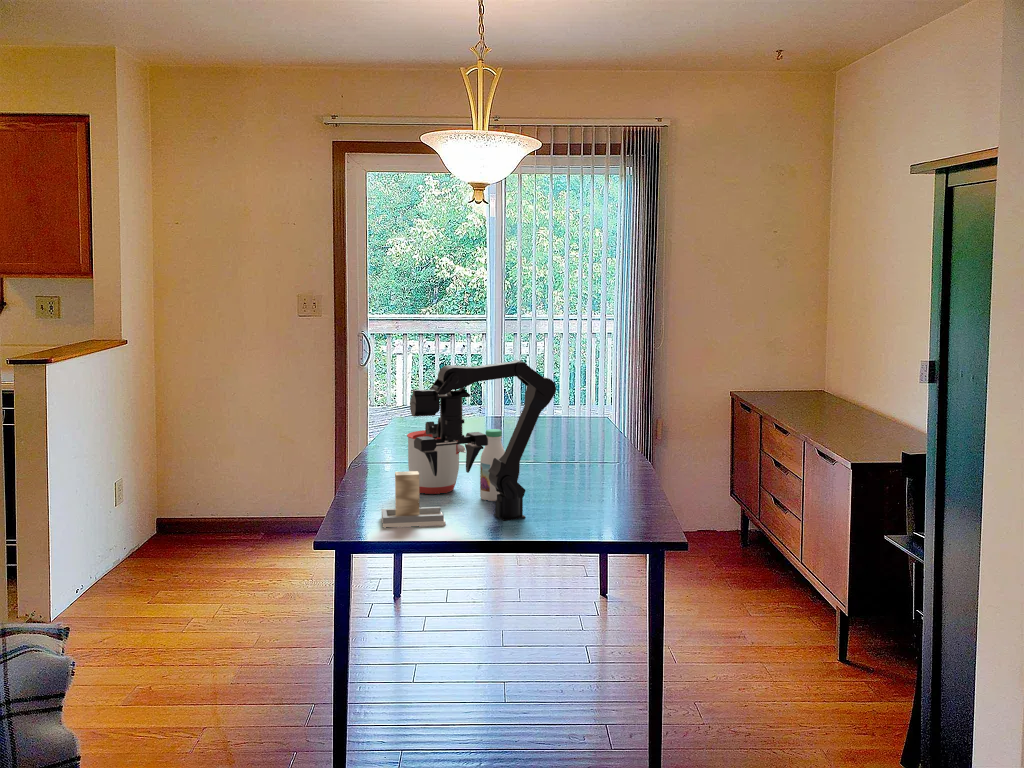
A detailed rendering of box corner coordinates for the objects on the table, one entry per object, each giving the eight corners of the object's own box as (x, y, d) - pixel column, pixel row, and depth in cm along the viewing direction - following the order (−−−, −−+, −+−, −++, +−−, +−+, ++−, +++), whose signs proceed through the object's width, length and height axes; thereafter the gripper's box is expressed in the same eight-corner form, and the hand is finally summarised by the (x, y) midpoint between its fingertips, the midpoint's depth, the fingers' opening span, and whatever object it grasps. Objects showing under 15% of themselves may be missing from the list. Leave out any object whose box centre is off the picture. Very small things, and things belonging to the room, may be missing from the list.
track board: (441, 515, 255) (441, 506, 255) (445, 525, 245) (445, 515, 245) (381, 517, 252) (381, 508, 252) (383, 528, 243) (383, 518, 242)
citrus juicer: (464, 497, 274) (463, 429, 272) (404, 496, 275) (403, 428, 272) (467, 484, 290) (467, 420, 287) (411, 484, 290) (410, 419, 288)
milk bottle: (506, 495, 277) (506, 427, 275) (507, 501, 270) (507, 432, 267) (480, 495, 277) (480, 427, 274) (480, 501, 269) (480, 432, 267)
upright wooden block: (418, 515, 251) (418, 471, 249) (419, 519, 247) (419, 474, 245) (395, 516, 250) (395, 471, 248) (396, 520, 246) (395, 475, 244)
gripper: (471, 407, 255) (471, 464, 257) (406, 412, 247) (406, 471, 249) (489, 413, 246) (488, 472, 248) (421, 419, 237) (422, 480, 239)
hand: (451, 474), depth 246 cm, fingers open, 9 cm apart
